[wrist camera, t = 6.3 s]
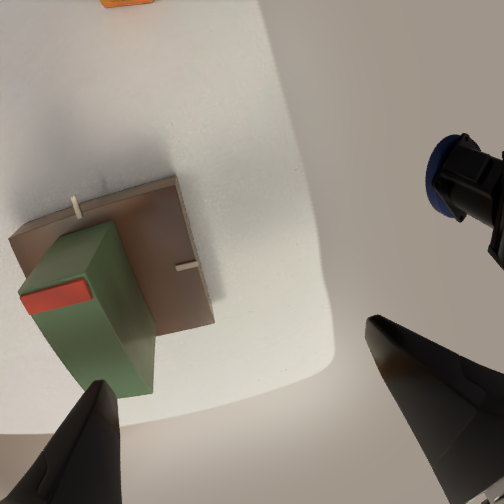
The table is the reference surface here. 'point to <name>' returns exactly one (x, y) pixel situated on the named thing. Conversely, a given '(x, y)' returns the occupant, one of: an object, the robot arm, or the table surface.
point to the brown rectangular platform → (137, 248)
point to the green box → (94, 311)
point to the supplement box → (123, 2)
